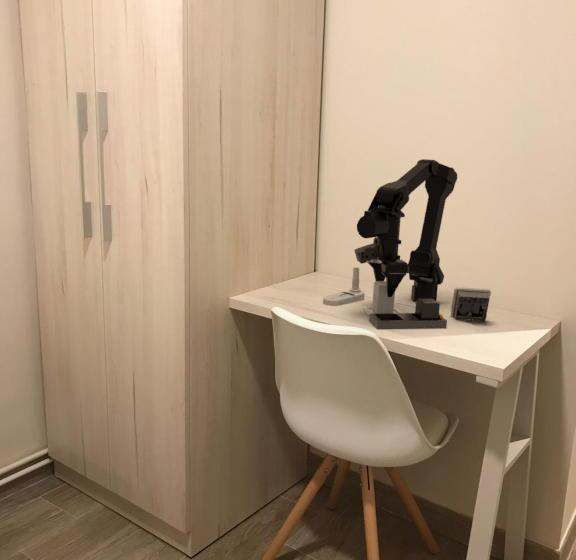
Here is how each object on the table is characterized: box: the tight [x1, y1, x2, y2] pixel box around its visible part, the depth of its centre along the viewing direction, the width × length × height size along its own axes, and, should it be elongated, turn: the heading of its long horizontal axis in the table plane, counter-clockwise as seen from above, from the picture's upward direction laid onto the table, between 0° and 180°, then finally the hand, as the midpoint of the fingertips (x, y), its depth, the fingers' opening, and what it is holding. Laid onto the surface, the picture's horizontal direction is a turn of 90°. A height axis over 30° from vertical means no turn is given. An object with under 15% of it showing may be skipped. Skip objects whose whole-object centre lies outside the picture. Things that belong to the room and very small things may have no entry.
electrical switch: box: [450, 286, 492, 324], centre depth 163 cm, size 9×5×9 cm, turn 84°
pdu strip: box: [368, 299, 448, 330], centre depth 157 cm, size 18×7×7 cm, turn 99°
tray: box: [361, 305, 403, 316], centre depth 167 cm, size 9×8×1 cm
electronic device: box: [322, 267, 365, 307], centre depth 178 cm, size 5×10×15 cm
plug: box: [371, 280, 396, 313], centre depth 167 cm, size 4×4×8 cm
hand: (384, 292), depth 166 cm, fingers open, 9 cm apart
